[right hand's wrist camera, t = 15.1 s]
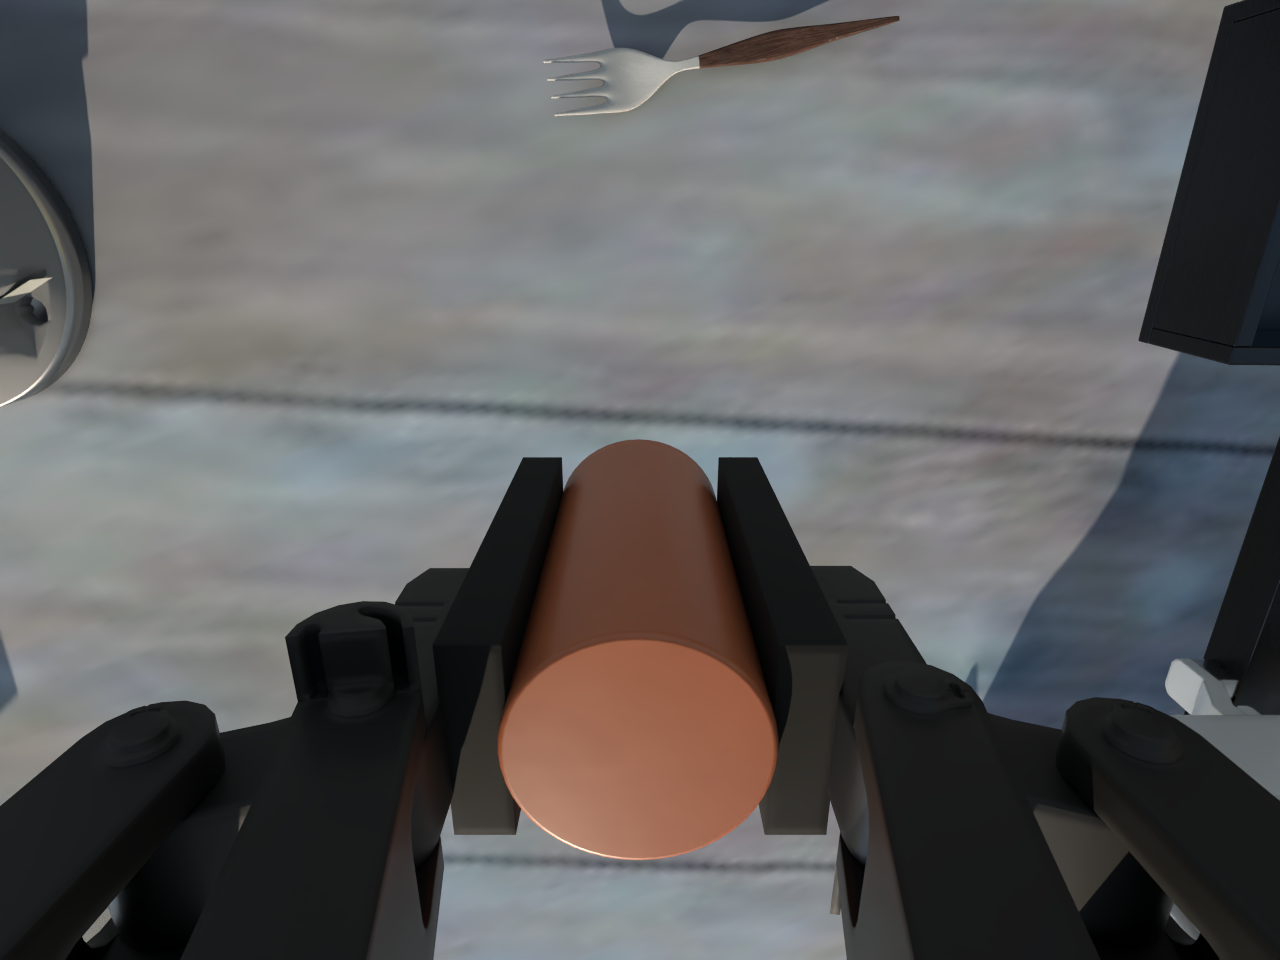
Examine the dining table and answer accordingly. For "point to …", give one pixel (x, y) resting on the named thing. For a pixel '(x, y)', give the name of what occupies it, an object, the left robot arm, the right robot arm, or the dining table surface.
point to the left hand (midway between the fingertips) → (1229, 671)
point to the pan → (1234, 301)
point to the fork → (693, 62)
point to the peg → (638, 668)
